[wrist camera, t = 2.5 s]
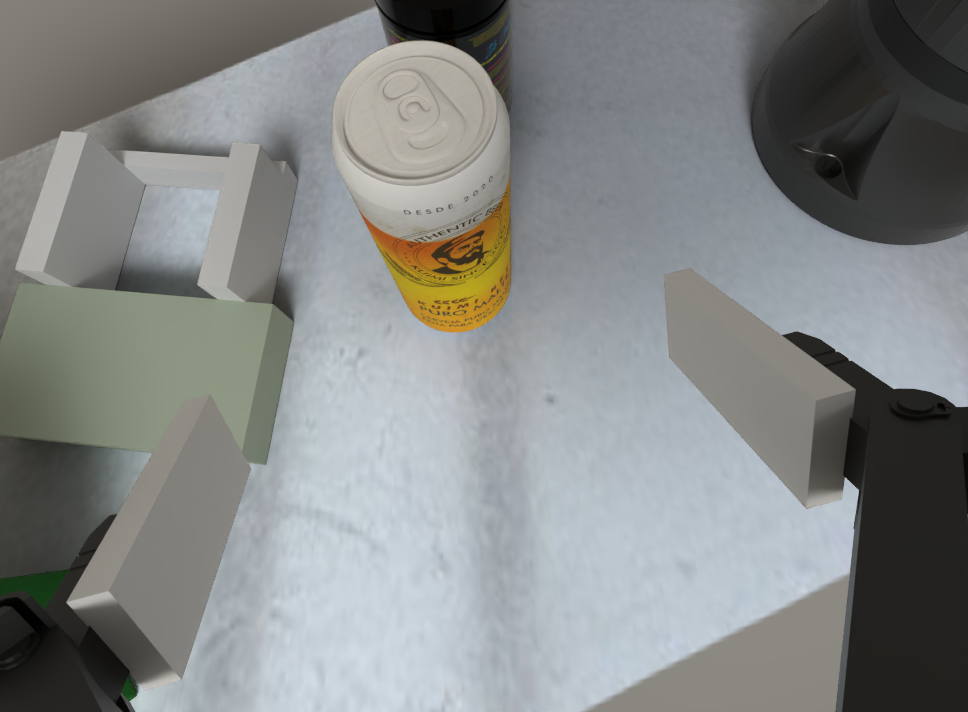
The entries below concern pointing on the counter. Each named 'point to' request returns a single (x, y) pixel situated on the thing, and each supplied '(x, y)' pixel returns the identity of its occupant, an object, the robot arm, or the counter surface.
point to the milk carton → (47, 599)
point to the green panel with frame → (146, 304)
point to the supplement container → (457, 31)
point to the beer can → (430, 177)
